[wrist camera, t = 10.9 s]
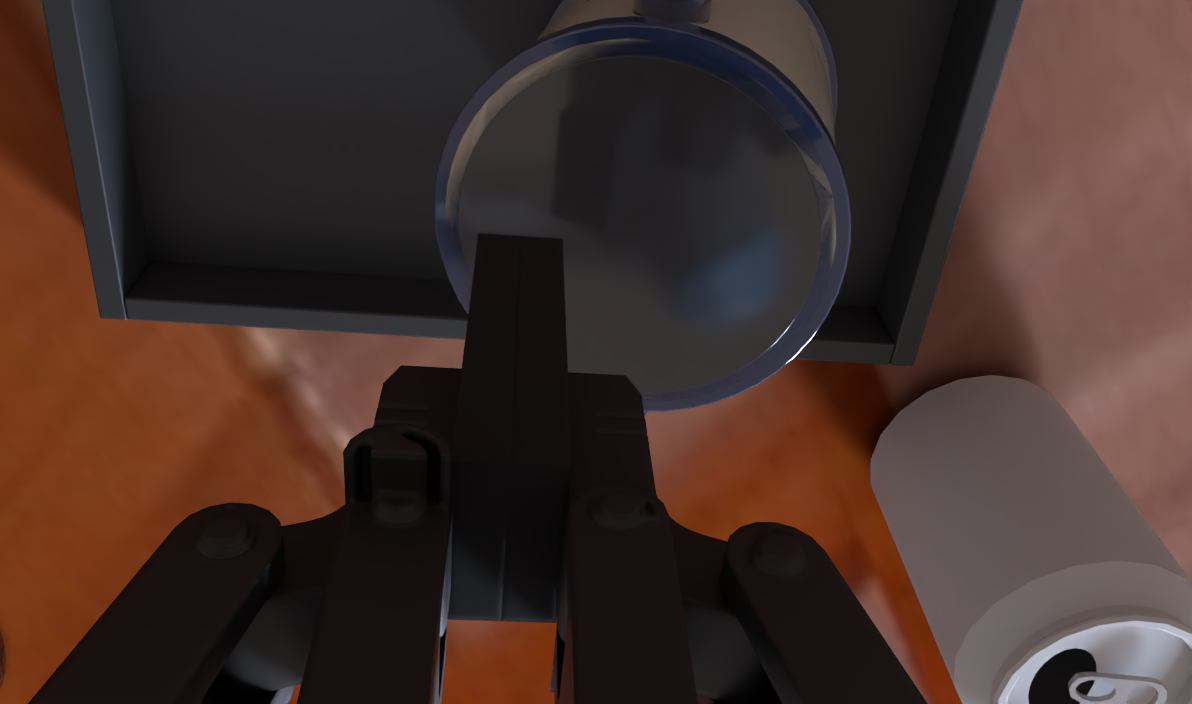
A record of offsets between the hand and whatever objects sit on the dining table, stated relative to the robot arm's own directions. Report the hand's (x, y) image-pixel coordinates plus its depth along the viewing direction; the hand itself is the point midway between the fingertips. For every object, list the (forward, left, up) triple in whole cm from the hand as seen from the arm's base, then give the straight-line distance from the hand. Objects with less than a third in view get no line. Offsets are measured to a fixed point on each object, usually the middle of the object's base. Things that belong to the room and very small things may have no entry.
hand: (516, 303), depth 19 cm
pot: (-1, 0, -9) cm, 9 cm away
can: (+17, -13, -15) cm, 26 cm away
